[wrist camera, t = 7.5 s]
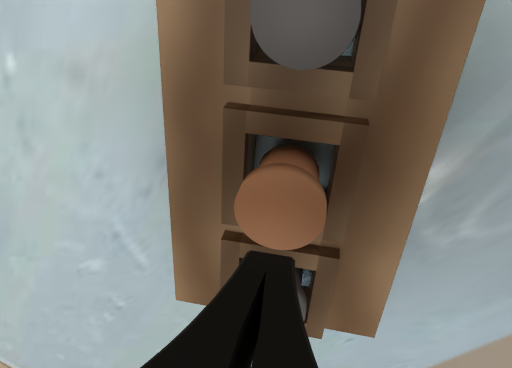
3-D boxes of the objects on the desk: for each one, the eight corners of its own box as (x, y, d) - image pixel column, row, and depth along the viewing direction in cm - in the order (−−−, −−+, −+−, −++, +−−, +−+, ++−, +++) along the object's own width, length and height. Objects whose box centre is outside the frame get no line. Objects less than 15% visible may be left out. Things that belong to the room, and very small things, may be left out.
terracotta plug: (334, 142, 17) (333, 180, 14) (322, 210, 19) (319, 256, 16) (252, 131, 17) (235, 166, 14) (248, 199, 19) (232, 242, 16)
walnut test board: (513, -149, 13) (553, -174, 10) (365, 332, 25) (368, 371, 23) (167, -160, 14) (133, -184, 12) (187, 298, 27) (172, 331, 24)
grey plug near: (365, -45, 14) (371, -47, 11) (347, 54, 16) (349, 75, 13) (270, -52, 15) (253, -55, 12) (263, 46, 17) (247, 64, 14)
